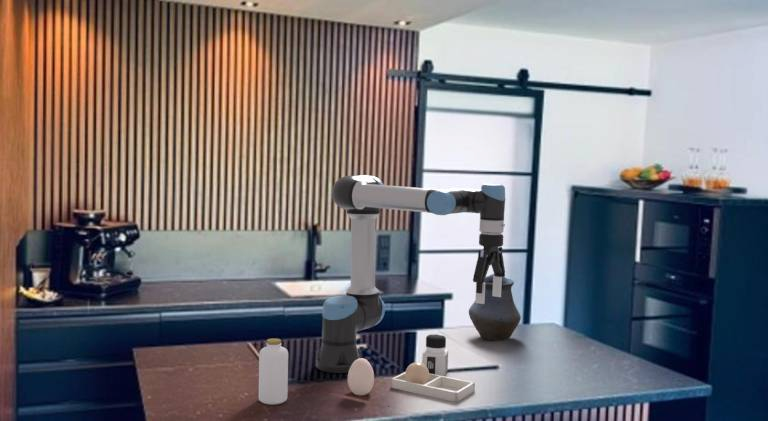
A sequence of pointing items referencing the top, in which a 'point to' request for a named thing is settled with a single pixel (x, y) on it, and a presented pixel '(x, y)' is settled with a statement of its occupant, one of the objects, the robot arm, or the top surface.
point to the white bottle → (273, 373)
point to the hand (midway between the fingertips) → (488, 300)
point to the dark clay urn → (495, 312)
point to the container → (436, 354)
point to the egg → (360, 377)
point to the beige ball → (417, 373)
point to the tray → (436, 387)
